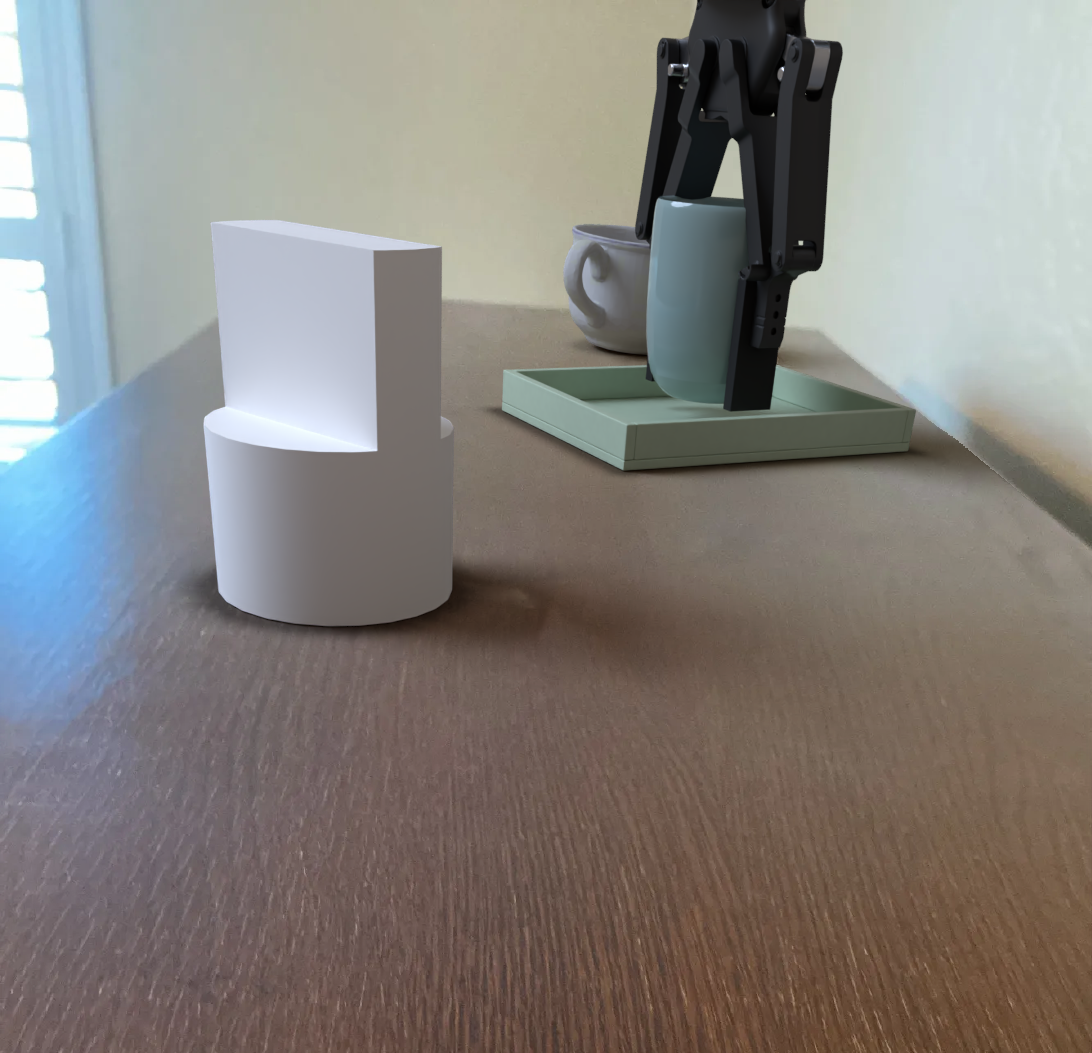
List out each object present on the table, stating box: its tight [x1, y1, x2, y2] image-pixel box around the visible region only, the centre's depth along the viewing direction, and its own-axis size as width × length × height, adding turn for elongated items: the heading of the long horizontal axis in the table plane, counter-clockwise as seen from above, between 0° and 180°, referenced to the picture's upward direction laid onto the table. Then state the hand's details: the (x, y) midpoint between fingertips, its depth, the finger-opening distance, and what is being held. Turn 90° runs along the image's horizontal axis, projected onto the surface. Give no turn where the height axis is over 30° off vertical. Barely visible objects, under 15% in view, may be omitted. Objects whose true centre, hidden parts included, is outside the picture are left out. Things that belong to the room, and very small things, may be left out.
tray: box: [501, 364, 917, 472], centre depth 77 cm, size 19×15×2 cm
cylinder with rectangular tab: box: [203, 219, 455, 627], centre depth 47 cm, size 9×9×12 cm
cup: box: [646, 196, 772, 404], centre depth 74 cm, size 8×8×10 cm
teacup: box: [562, 223, 650, 356], centre depth 98 cm, size 14×11×8 cm
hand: (705, 393), depth 77 cm, fingers closed on cup, 8 cm apart
